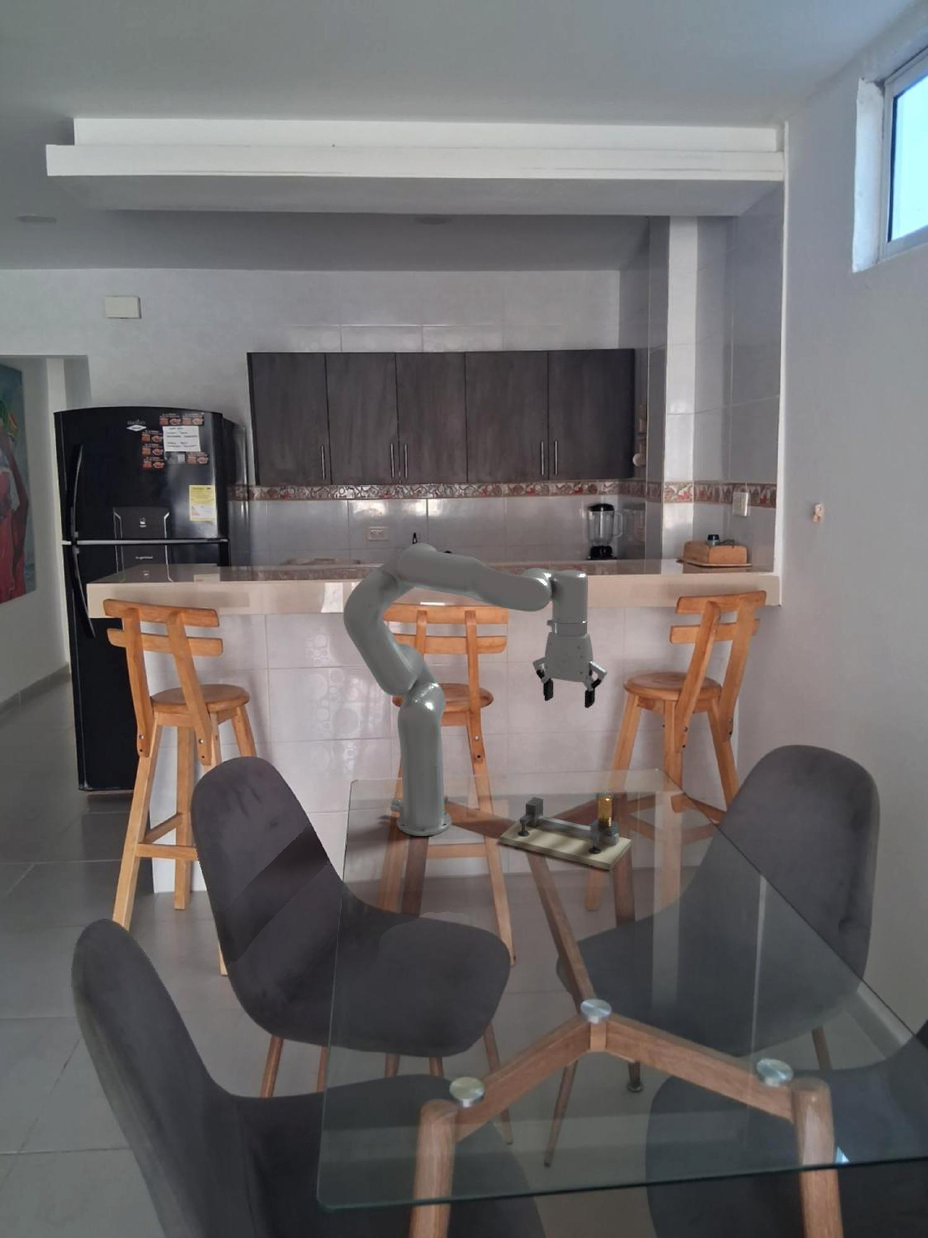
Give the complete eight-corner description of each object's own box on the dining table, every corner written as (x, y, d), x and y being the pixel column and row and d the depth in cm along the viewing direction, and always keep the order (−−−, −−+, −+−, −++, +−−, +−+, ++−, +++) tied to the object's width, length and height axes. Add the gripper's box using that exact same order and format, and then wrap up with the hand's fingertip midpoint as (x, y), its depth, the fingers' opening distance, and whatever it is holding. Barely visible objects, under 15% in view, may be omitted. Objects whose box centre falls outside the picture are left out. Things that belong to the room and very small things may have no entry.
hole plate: (500, 842, 210) (499, 813, 208) (524, 820, 220) (524, 793, 218) (610, 870, 197) (610, 839, 196) (631, 846, 207) (631, 816, 206)
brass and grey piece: (583, 846, 203) (583, 807, 201) (597, 831, 210) (597, 792, 207) (604, 852, 201) (605, 811, 198) (618, 836, 207) (619, 797, 205)
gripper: (526, 626, 206) (525, 701, 210) (600, 636, 197) (598, 714, 202) (541, 619, 212) (541, 691, 217) (613, 628, 204) (611, 704, 208)
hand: (568, 702), depth 209 cm, fingers open, 9 cm apart
